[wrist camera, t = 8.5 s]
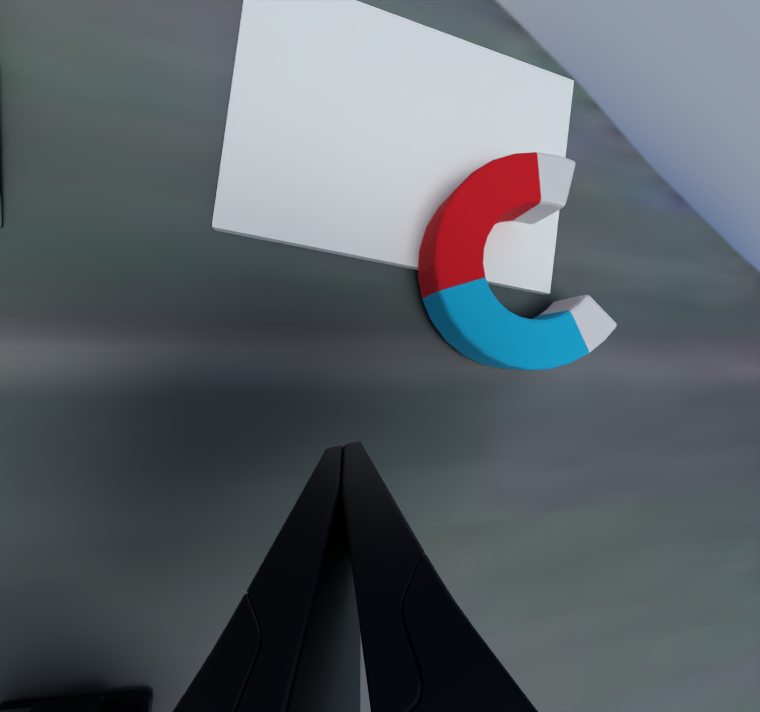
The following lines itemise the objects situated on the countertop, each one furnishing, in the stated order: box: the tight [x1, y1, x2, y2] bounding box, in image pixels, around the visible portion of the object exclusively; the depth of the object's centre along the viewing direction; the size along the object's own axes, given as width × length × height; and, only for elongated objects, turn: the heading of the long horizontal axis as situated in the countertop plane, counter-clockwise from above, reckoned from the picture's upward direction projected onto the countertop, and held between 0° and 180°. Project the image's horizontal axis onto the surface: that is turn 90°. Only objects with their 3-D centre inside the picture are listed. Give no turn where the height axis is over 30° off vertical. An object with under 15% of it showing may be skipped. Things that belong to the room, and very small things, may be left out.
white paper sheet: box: [212, 0, 574, 295], centre depth 20 cm, size 14×20×1 cm
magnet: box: [418, 152, 616, 370], centre depth 19 cm, size 12×3×10 cm
